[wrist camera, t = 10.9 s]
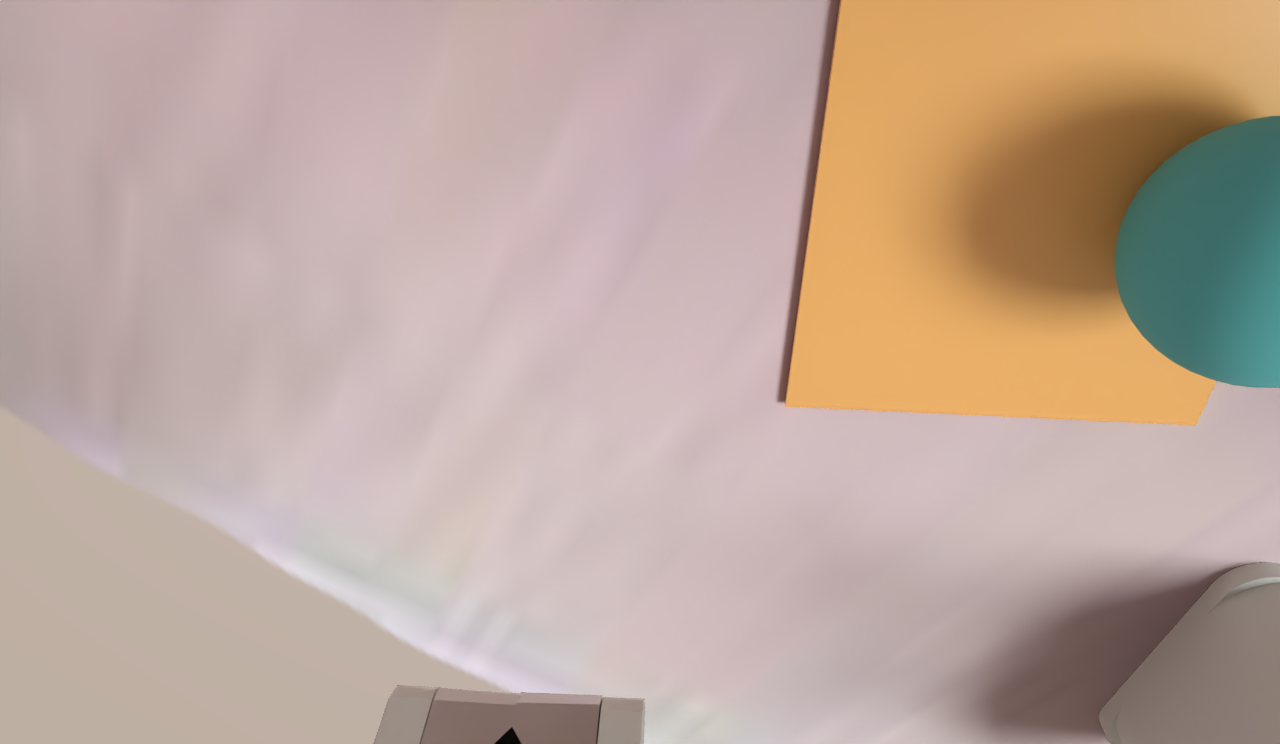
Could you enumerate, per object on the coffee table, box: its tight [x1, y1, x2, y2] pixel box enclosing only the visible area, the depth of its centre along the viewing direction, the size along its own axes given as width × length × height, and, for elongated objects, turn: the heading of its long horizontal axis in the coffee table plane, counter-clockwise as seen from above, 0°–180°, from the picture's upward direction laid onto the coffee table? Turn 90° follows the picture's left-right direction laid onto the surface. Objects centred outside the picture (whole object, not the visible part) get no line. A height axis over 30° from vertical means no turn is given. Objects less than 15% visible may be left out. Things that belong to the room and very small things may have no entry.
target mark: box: [785, 0, 1280, 425], centre depth 23 cm, size 12×12×1 cm
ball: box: [1114, 116, 1280, 388], centre depth 20 cm, size 6×6×6 cm
